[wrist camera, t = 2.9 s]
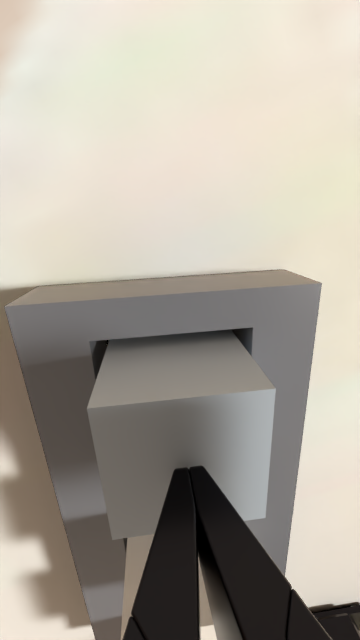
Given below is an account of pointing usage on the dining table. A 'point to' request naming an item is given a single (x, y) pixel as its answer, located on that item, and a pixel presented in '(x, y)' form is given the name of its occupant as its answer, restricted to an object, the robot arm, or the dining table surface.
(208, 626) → the cream key
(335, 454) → the dining table surface
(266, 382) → the light grey cube
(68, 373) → the grey slotted tray
